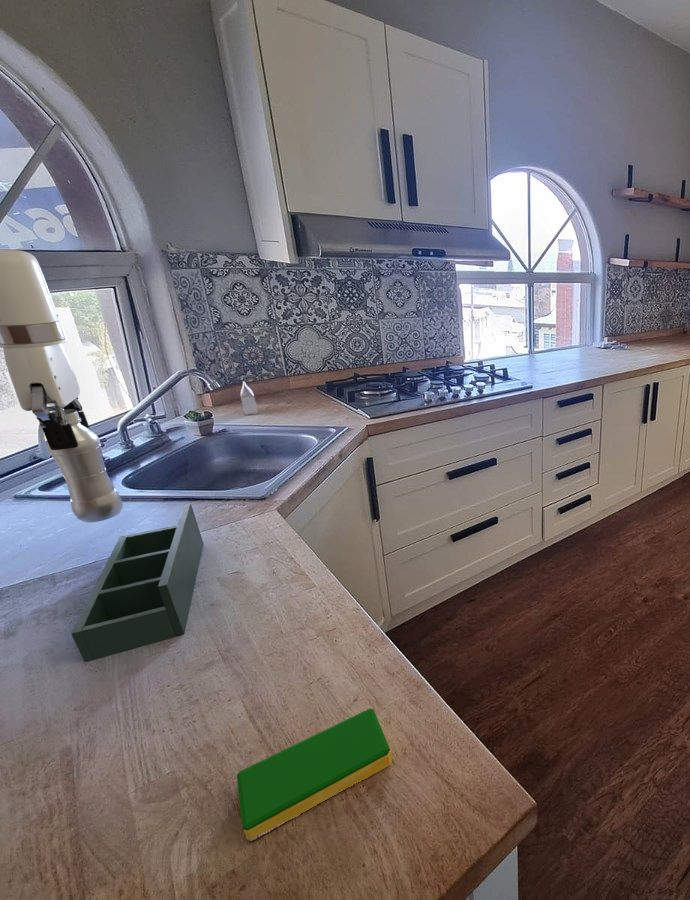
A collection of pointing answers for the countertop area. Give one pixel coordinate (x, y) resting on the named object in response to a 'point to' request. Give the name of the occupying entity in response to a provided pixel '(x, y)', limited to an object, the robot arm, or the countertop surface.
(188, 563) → the box
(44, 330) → the robot arm
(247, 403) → the white gabled block
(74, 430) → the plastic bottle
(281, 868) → the countertop surface
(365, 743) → the dish sponge
